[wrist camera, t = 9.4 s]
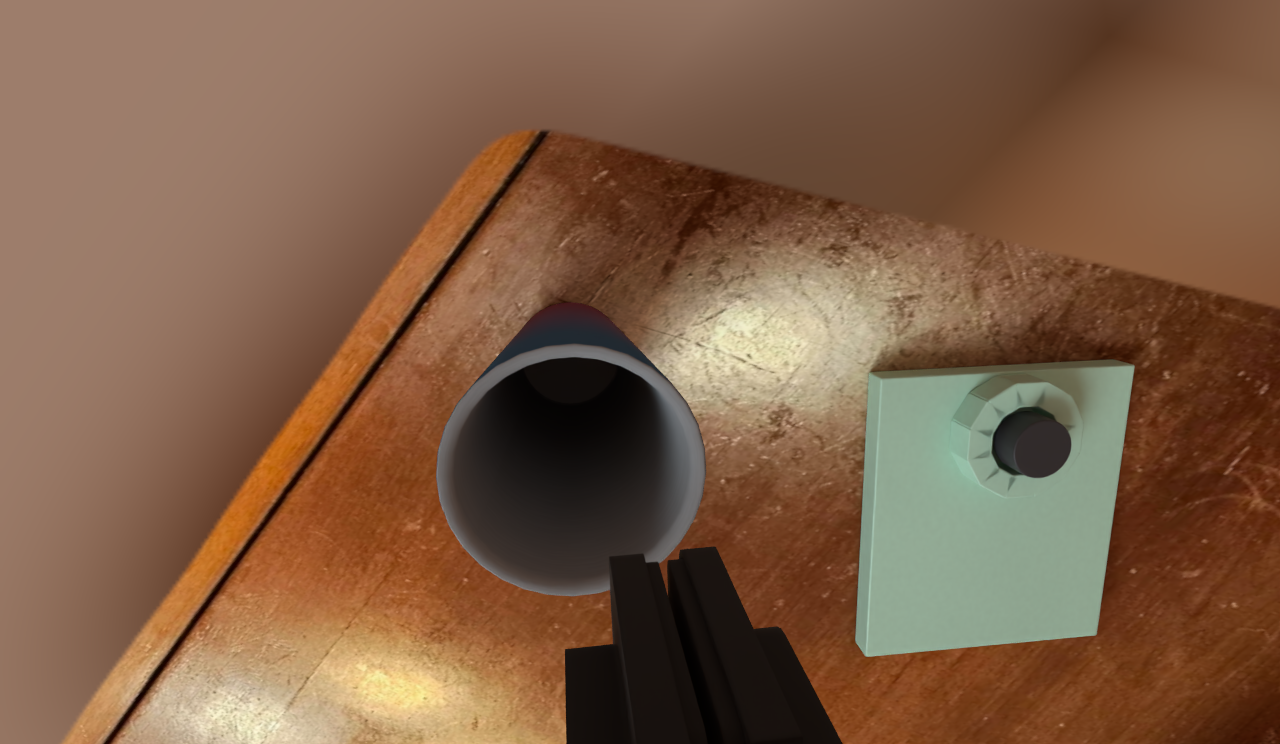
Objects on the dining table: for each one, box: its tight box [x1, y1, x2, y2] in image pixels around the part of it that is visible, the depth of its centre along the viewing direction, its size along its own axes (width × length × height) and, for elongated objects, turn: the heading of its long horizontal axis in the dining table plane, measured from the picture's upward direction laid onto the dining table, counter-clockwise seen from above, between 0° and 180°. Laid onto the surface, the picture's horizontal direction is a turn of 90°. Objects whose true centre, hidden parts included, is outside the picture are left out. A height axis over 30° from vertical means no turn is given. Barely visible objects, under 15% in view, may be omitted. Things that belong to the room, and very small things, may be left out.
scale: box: [855, 359, 1135, 657], centre depth 34 cm, size 15×13×3 cm
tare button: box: [994, 411, 1071, 478], centre depth 32 cm, size 3×3×2 cm
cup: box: [436, 302, 706, 596], centre depth 25 cm, size 7×7×15 cm
